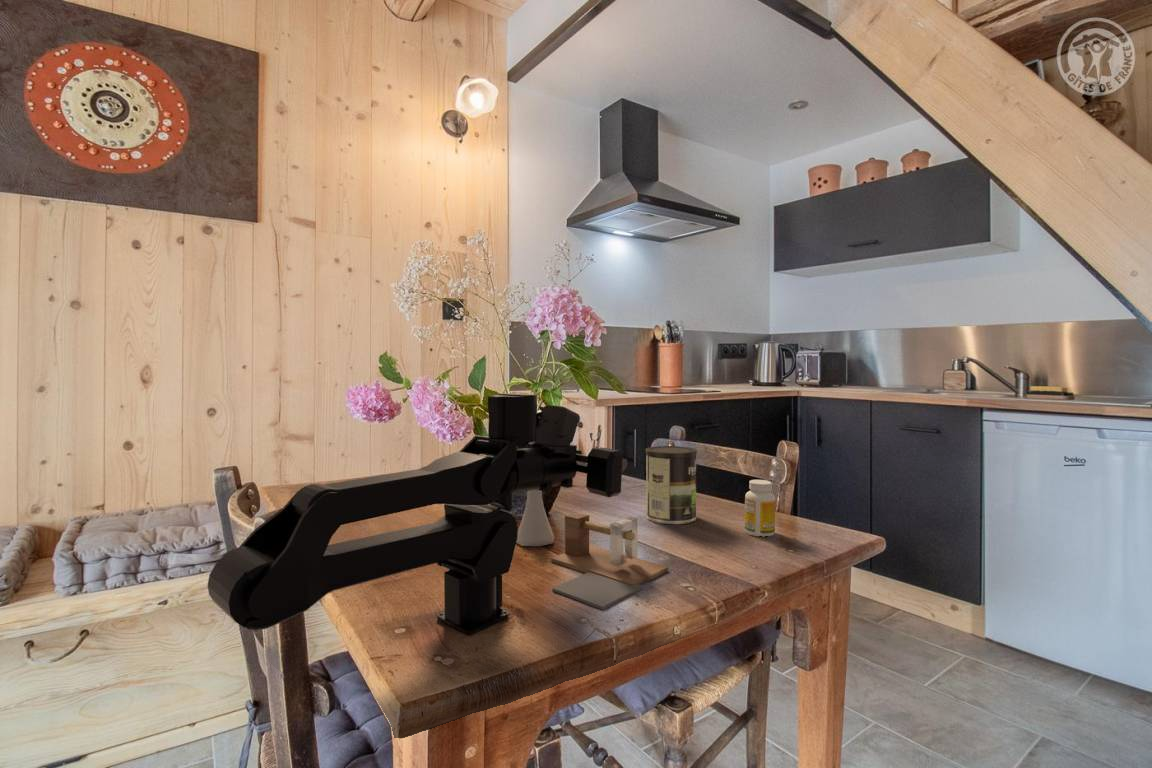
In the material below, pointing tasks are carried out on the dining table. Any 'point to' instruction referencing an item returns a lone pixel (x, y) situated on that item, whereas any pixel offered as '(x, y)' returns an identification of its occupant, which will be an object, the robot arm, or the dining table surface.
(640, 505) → the dining table surface
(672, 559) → the dining table surface
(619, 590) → the slate coaster
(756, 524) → the supplement bottle
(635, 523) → the slotted rectangular block
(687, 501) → the coffee can
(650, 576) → the link stand
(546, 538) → the flask
